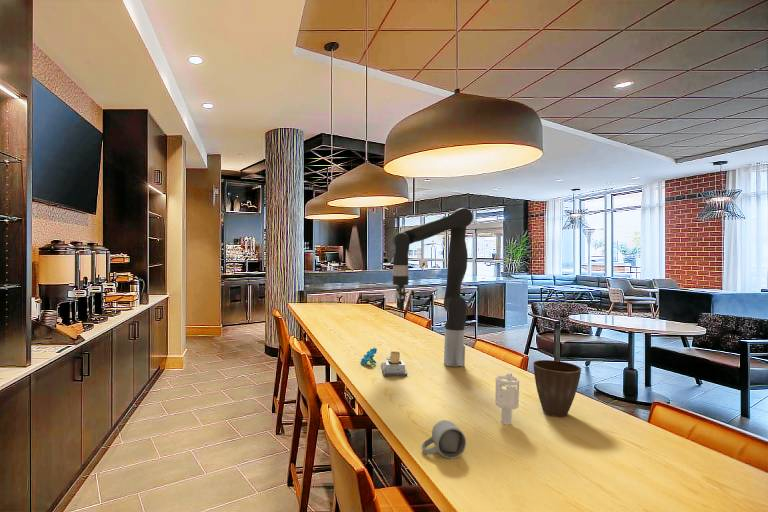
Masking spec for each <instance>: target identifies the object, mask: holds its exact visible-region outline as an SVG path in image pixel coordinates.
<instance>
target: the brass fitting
mask: <svg viewBox="0 0 768 512" xmlns="http://www.w3.org/2000/svg"><path fill="white" fill-rule="evenodd" d="M400 355H401V353H400V351H395V350H394V351H390V356H391V358H390V364H399V362H400Z"/></svg>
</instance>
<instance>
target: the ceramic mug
mask: <svg viewBox="0 0 768 512" xmlns="http://www.w3.org/2000/svg"><path fill="white" fill-rule="evenodd" d="M432 444H434V445H435V446H432V447H429V446H430V445H432ZM466 445H467V440H466V436H465V434H464V433H463V431H462V430H461V429H460V428H459V427H457V425H455V424H454V423H453V422H452V421H450V420H439V421H438V422H436V423H435V424H434V425H433V427H432V431H431V437H428V439H426V440H424V441H423V442H422V444H421V449H422V452H423V453H424V454H425V455H427V456H429V455H434V454H437V453H439V454H440V455H441V456H442V457H443V458H446V459H452V458H453V459H456V458H458V457H460V456H461V455H462V454H463V453H464V452H465V449H466ZM428 447H429V448H428Z"/></svg>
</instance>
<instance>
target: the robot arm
mask: <svg viewBox="0 0 768 512" xmlns="http://www.w3.org/2000/svg"><path fill="white" fill-rule="evenodd" d="M473 219H474V214H473V212H472V211H471V210H470V209H469V208H465V207H461V208H457V209H455V210H454V211H453V212H452V213H451V214H449V215H447V216H444V217H441V218H439V219H435V220H433V221H429V222H426V223H425V222H424V223H423V224H420V225H418V226H415V227H413V228H411V229H408V230H404V231H402V232H397V233H396V234H395V235H394V236H393V238H392V243H393V245H394V253H393V261H392V263H393V266H392V285H394V286H395V299H396V308H397V309H399V311H404V310H405V301H406V288H405V286H408V285H410V284H409V270H410V269H409V249H410V245H412V244H413V243H417V242H421V241H424V240H427V239H429V238H432V237H434V236H436V235H439V234H441V233H443V232H446V231H448V230H449V231H450V238H449V239H450V240H449V247H448V254H447V255H448V258H447V272H446V273H447V275H446V286H445V292H444V293H445V294H444V297H443V298H444V299H443V307H444V310H445V311H446V313H447V321H446V322H445V323H444V344H443V345H444V347H443V348H444V349H443V350H444V353H443V365H444V364H445V365H444V366H446V365H448V366H447V367H450V366H454V367H453V368H458V367H457V366H461V367H465V365H466V364H465V361H466V357H465V356H466V346H465V325H467V315H468V305H467V302H466V299H465V298H464V297H462V296H461V288H462V282H463V280H464V277H465V275H466V273H467V268H468V256H469V255H468V247H467V243H466V231H467V227H468V226H470V225H471V223H472V222H473ZM455 366H456V367H455Z"/></svg>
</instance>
